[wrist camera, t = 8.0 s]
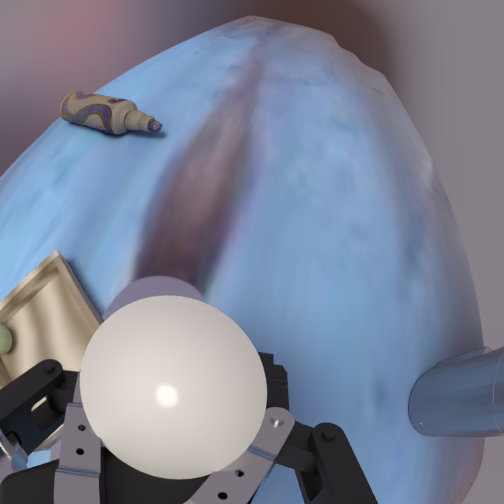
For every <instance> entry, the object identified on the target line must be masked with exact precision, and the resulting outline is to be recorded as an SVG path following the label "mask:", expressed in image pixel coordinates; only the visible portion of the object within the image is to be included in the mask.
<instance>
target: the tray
mask: <svg viewBox="0 0 504 504" xmlns="http://www.w3.org/2000/svg"><path fill="white" fill-rule="evenodd" d="M103 322H104V320H103V319H102V317H101V316H100V314H99V313H98V311H97V310H96V308H95V307H94V305H93V303H92V302H91V300H90V299H89V297H88V295H87V294H86V292H85V290H84V289H83V287H82V285H81V284H80V282H79V280H78V279H77V277H76V275H75V273H74V272H73V270H72V268H71V266H70V264H69V263H68V261H67V260H66V259H65V258H64V257H63V256H62V255H61V254H60V253H59V252H58V251H57V250H55V251H54V252H53V253H52V254H50V255H49V256H48V257H47V258H46V259H45V260H44V261H43V262H41V263H40V264H39V265H38V266H37V267H36V268H35V269H34V270H33V271H32V272H31V273H29V274H28V275H27V276H26V277H25V278H24V279H23V280H22V281H21V282H20V283H19V284H18V285H17V286H16V287H15V288H14V289H13V290H12V291H11V292H10V293H9V294H8V295H7V296H6V297H5V298H4V299H3V300H2V301H1V302H0V324H2V325H4V326H5V327H6V328H7V329H8V330H9V332H10V334H11V337H12V345H11V348H10V350H9V351H8V352H7V353H5V354H0V389H2V388H3V387H5V386H6V385H7V384H9V383H10V382H12V381H13V380H15V379H16V378H17V377H19V376H20V375H22V374H23V373H25V372H26V371H28V370H29V369H30V368H32V367H33V366H35V365H36V364H38V363H39V362H41V361H43V360H46V359H54V360H57V361H59V362H60V363H61V364H62V367H63V370H69V371H80V369H81V365H82V360H83V357H84V353H85V351H86V348H87V346H88V344H89V342H90V340H91V338H92V337H93V335H94V333H95V332H96V331H97V329H98V328H99V327H100V326H101V324H102V323H103ZM45 400H46V397H44V398H43V399H42V400H40V401H39V402H38V403H37V404H35V405H34V406H33V408H32V411H33V410H34V409H35V408H36V407H38V406H39V405H40V404H41V403H43V402H44V401H45ZM63 426H64V423H63V424H62V425H61V426H60V427H59V428H58V429H57V430H56V431H55V432H54V433H52V434H51V435H50V436H49V437H48V438H47V439H46V440H45V441H44V442H43V443H42V444H40V445H39V446H38V447H37V448H36V449H35V450H34V451H33V452H37V451H43V450H47V449H49V448H50V447H51V446H52V445H54V444H55V443H56V442H57V441H59V440H60V439H61V438H62V434H63Z"/></svg>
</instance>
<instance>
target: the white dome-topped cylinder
mask: <svg viewBox="0 0 504 504" xmlns="http://www.w3.org/2000/svg"><path fill="white" fill-rule="evenodd" d="M80 392H81V399H82V403H83V407H84V411H85V413H86V416H87V419H88V421H89V423H90V425H91V427H92V429H93V430H94V432H95V433H96V435H97V436H98V437H100V438H101V442H102V443H103V444H104V445H105V446H106V447H107V448H108V450H109V451H111V452H112V453H113V454H114V455H115V456H116V457H117V458H119V459H120V460H122V461H123V462H124V463H126V464H128V465H129V466H131V467H133V468H135V469H137V470H139V471H141V472H144V473H147V474H149V475H152V476H156V477H161V478H167V479H192V478H197V477H202V476H206V475H209V474H211V473H213V471H216V472H217V471H219V470H221V469H222V468H224V467H226V466H228V465H229V464H231V463H232V462H233V461H235V460H236V459H237V458H238V457H239V456H240V455H242V454H243V453H244V452H245V451H246V449H247V448H248V447H249V445H250V444H251V443H252V441H253V440H254V438H255V437H256V435H257V433H258V431H259V429H260V426H261V424H262V421H263V418H264V414H265V409H266V402H267V385H266V377H265V373H264V368H263V365H262V362H261V360H260V357H259V355H258V353H257V351H256V349H255V347H254V345H253V343H252V342H251V341H250V339H249V338H248V336H247V335H246V334H245V332H244V331H243V330H242V329H241V328H240V327H239V326H238V325H237V324H236V323H235V322H234V321H233V320H232V319H231V318H229V317H228V316H227V315H225V314H224V313H222V312H221V311H219V310H218V309H216V308H214V307H212V306H210V305H208V304H206V303H203V302H200V301H198V300H195V299H190V298H187V297H180V296H155V297H148V298H145V299H141V300H138V301H135V302H133V303H130V304H128V305H126V306H124V307H123V308H121V309H119V310H117V311H116V312H115V313H114V314H112V315H111V316H109V318H107V319H106V320H105V321H104V322H103V323H102V324H101V326H100V327H99V328H98V329H97V331H96V332H95V333H94V335H93V337H92V338H91V340H90V342H89V344H88V346H87V348H86V351H85V353H84V357H83V360H82V365H81V371H80Z"/></svg>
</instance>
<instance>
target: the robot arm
mask: <svg viewBox="0 0 504 504" xmlns="http://www.w3.org/2000/svg"><path fill="white" fill-rule="evenodd" d="M258 355H259V357H260V360H261V362H262V365H263V368H264V373H265V377H266V385H267V402H266V409H265V414H264V418H263V421H262V424H261V426H260V429H259V431H258V433H257V435H256V437H255V438H254V440H253V441H252V443H251V444H250V445H249V447H248V448H247V449H246V451H245V452H244V453H243V454H242V455H240V456H239V457H238V458H237V459H236V460H235V461H233V462H232V463H231V464H229V465H228V466H226V467H224V468H222V469H221V470H219V471H217V472H216V471H213V473H212V474H209V475H206V476H202V477H197V478H192V479H167V478H161V477H156V476H152V475H149V474H147V473H144V472H141V471H139V470H137V469H135V468H133V467H131V466H129V465H128V464H126V463H124V462H123V461H122V460H120V459H119V458H117V457H116V456H115V455H114V454H113V453H112V452H111V451H109V450H108V448H107V447H106V446H105V445H104V444H103V443H102V442H101V438H100V437H98V436H97V435H96V433H95V432H94V430H93V429H92V427H91V425H90V423H89V421H88V419H87V416H86V413H85V411H84V407H83V403H82V399H81V392H80V371H81V369H80V371H69V370H63V367H62V364H61V363H60V362H59V361H57V360H54V359H46V360H43V361H41V362H39V363H38V364H36V365H35V366H33V367H32V368H30V369H29V370H28V371H26V372H25V373H23V374H22V375H20V376H19V377H17V378H16V379H15V380H13V381H12V382H10V383H9V384H7V385H6V386H5V387H3V388H2V389H0V504H252V502H253V501H254V499H255V498H256V496H257V494H258V493H259V491H260V489H261V487H262V486H263V484H264V483H265V481H266V479H267V478H268V476H269V474H270V473H271V471H272V469H273V468H274V466H275V464H276V463H277V464H280V465H283V466H286V467H289V468H292V469H294V470H295V473H296V476H297V480H298V483H299V486H300V490H301V493H302V496H303V500H304V503H305V504H378V502H377V500H376V498H375V496H374V494H373V492H372V490H371V488H370V486H369V483H368V481H367V479H366V477H365V475H364V473H363V471H362V469H361V467H360V465H359V462H358V460H357V458H356V456H355V454H354V452H353V450H352V448H351V446H350V444H349V442H348V439H347V437H346V435H345V433H344V431H343V430H342V429H341V428H340V427H339V426H337V425H335V424H332V423H321V424H318V425H317V426H315V427H314V428H312V427H309V426H306V425H303V424H301V423H299V422H297V421H296V420H295V418H294V416H293V415H292V413H290V412H289V400H288V382H287V372H286V371H285V369H284V367H283V366H281V365H274V364H273V354H269V353H262V352H258ZM44 397H46V400H45V401H44V402H43V403H41V404H40V405H39V406H38V407H36V408H35V409H34V410H33V411H32V408H33V406H34V405H35V404H37V403H38V402H39V401H40V400H42V399H43V398H44ZM409 416H410V420H411V423H412V425H413V427H414V428H415V429H416V430H417V431H418V432H419V433H421V434H423V435H427V436H436V437H438V436H442V437H493V436H494V437H495V436H504V347H501V348H499V349H496V350H493V351H492V350H491V349H490V348H489V347H483V348H481V349H478V350H475V351H472V352H469V353H466V354H463V355H460V356H457V357H454V358H451V359H448V360H445V361H441V362H438V364H437V366H436V367H435V368H434V369H431V370H429V371H427V372H426V373H424V374H423V375H422V376H421V377H420V378H419V379H418V381H417V382H416V384H415V385H414V388H413V390H412V392H411V396H410V400H409ZM63 423H64V426H63V434H62V441H61V450H60V458H59V459H57V460H54V461H51V462H48V463H44V464H41V465H38V466H35V467H32V468H28V469H27V462H28V456H29V455H30V454H31V453H32V452H33V451H34V450H35V449H36V448H37V447H38V446H39V445H40V444H42V443H43V442H44V441H45V440H46V439H47V438H48V437H49V436H50V435H51V434H52V433H54V432H55V431H56V430H57V429H58V428H59V427H60V426H61V425H62V424H63Z"/></svg>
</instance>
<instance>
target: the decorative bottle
mask: <svg viewBox="0 0 504 504" xmlns="http://www.w3.org/2000/svg"><path fill="white" fill-rule="evenodd" d="M59 112H60V116H61V117H62V119H64V120H65V121H71V122H75V123H78V124H81V125H85V126H89V127H93V128H96V129H98V130H99V131H100V132H101V133H104V132H102V130H103V131H105V133H104V134H117V135H119V134H124V133H127V132H129V131H131V130H134V131H136V130H142V131H145V132H150V131H159V130H160V129H161V127H162V124H160V122H158V121H157V120H155V118H154V117H152V116H148V115H146V114H144V113H142V112H141V111H137V107H136V104H135V103H134V102H132V101H130V100H125V99H119V98H114V97H109V96H104V95H96V94H91V93H84V92H81V91H74V92H71V93H69V94H68V95H67V96H66V97H65V98H64V99H63V101H62V102H61V105H60V111H59Z"/></svg>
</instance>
